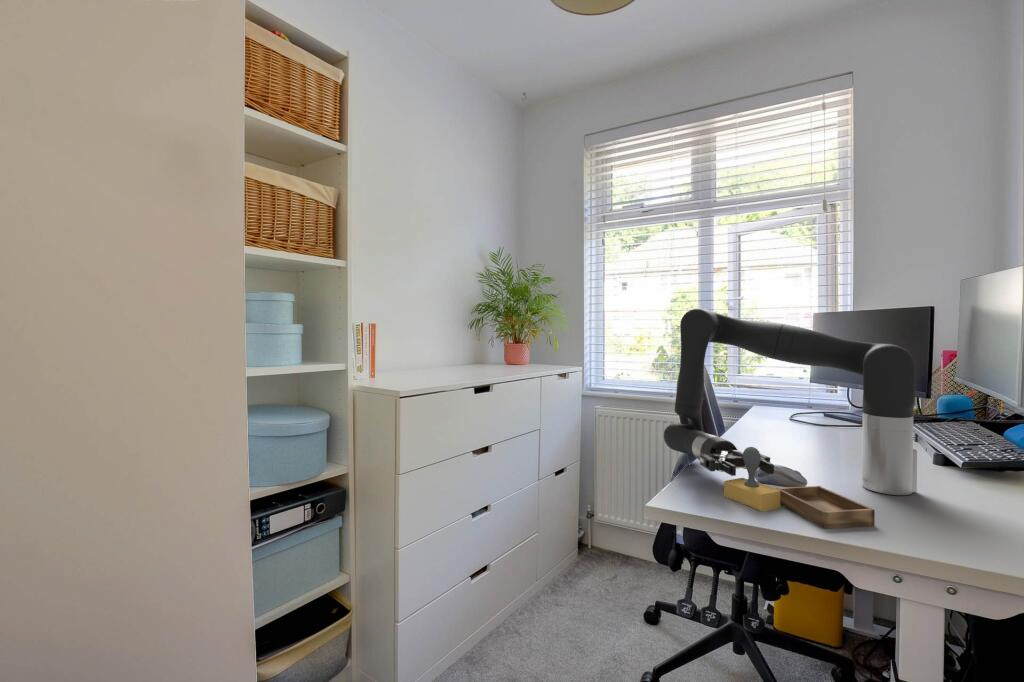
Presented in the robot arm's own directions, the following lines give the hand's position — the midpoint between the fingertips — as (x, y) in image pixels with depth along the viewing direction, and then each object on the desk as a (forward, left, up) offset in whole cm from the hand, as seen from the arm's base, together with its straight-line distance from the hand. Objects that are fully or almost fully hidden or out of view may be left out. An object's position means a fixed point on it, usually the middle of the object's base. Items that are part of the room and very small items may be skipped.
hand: (753, 470), depth 105 cm
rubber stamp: (0, -1, -7) cm, 7 cm away
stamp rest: (-10, +7, -7) cm, 14 cm away
